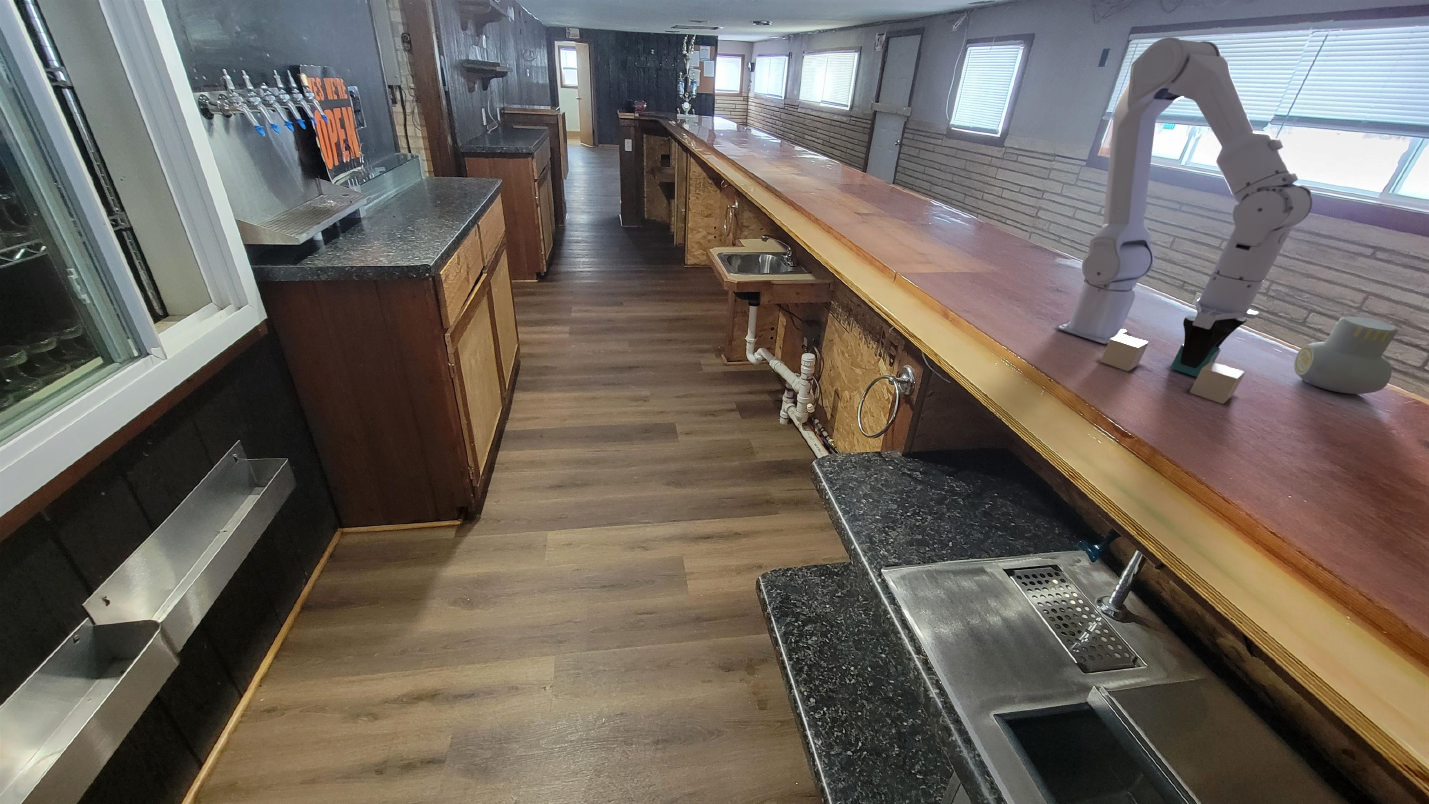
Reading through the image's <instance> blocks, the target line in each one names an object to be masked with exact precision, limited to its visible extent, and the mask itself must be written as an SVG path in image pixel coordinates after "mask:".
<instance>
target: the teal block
mask: <svg viewBox="0 0 1429 804" xmlns="http://www.w3.org/2000/svg"><path fill="white" fill-rule="evenodd" d="M1183 346H1184V343H1183V344H1181V345H1180V348H1179V350H1178V351H1177V354H1176V355H1175V357H1174V359H1173V362H1172V364H1171V365H1170V367H1169V369H1171V370H1174V371H1177V372H1180V373H1183V374H1186V375H1189V376H1192V377H1195V378H1197V377H1198V375H1199V373H1200V371H1201V369H1202V368H1203V367H1204V366H1206V365H1207V364H1208V363H1210V362H1211V361H1212V362H1215V363H1216V360H1217V359H1218V356H1219V354H1220V353H1221V351H1222V348H1221V347H1220V346H1219V347H1214V348H1213V349H1212V350H1211V352H1210V353H1209V354H1208V356H1207V357H1206V358H1205V360H1204V361H1203V362H1202V363H1201V364H1200V365H1199V366H1198V367H1197V368H1193V367H1190V366H1186V365H1183V364H1181V363H1180V362H1181V355H1182V350H1183Z"/></svg>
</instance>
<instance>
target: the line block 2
mask: <svg viewBox="0 0 1429 804" xmlns="http://www.w3.org/2000/svg"><path fill="white" fill-rule="evenodd" d="M1245 374H1246V371H1245V370H1241V369H1238V368H1234V367H1231V366H1229V365H1225V364H1223V363H1219V362H1216V361H1215V362H1212V361H1211V362H1210V363H1208V364H1207V365H1206V366H1204V367H1203V368H1202V369H1201V371H1200V373H1199V375H1198V377H1196V379H1195V381H1194V383H1193V385H1192V386H1191V389H1190V391H1189V393H1190V394H1192V395H1195V396H1198V397H1201V398H1205V399H1207V400H1209V401H1211V402H1212V401H1213V402H1216V403H1219V404H1221V405H1224V404H1225V403H1226V402H1227V401H1229V400H1230V399H1231V398H1232V397H1233V395H1234V393H1235V391H1236V390H1237V388H1238V386H1239V384H1240V383H1241V381H1242V380H1243V378H1244V376H1245Z"/></svg>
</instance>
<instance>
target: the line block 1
mask: <svg viewBox="0 0 1429 804" xmlns="http://www.w3.org/2000/svg"><path fill="white" fill-rule="evenodd" d="M1148 344H1149V341H1147V340H1143V339H1140V338H1136V337H1133V336H1129V335H1127V334H1119V335H1117V336H1115V337H1113V338H1111V339H1110V340H1109V342H1108V343H1107V345H1106V347H1105V349H1104V352H1103V354H1102V357H1101V359H1100V363H1102V364H1105V365H1108V366H1110V367H1114V368H1117V369H1120V370H1122V371H1126V372H1129V371H1131V370H1132V369H1134V368H1136V367H1137V366H1139V364H1140V362H1141V360H1142V358H1143V355H1144V353H1145V351H1146V349H1147V347H1148Z"/></svg>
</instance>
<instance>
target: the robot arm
mask: <svg viewBox="0 0 1429 804" xmlns="http://www.w3.org/2000/svg"><path fill="white" fill-rule="evenodd" d="M1240 97H1241V96H1240V94H1239V93H1238V90H1237V88H1236V86H1235V83H1234V80H1233V78H1232V76H1231V73H1230V65H1229V61H1228V60H1227V59H1226V58H1225V57H1224V56H1222V54H1221V50H1220V48H1219V46H1218V45H1217V44H1215V43H1214V42H1212V41H1206V40H1203V41H1194V40H1185V39H1180V38H1177V37H1174V36H1173V37H1171V36H1169V37H1164V38H1161V39H1158V40H1156V41H1155V42H1153V43H1152V44H1150V45H1149V46H1148V47H1147V48H1146V49H1145V50H1144V51H1143V52H1142V53H1141V54H1140V55H1139V56H1138V57H1137V58H1136V59H1135V60H1134V61H1133V62H1132V63H1131V64H1130V73H1129V79H1128V82H1127V84H1126V86H1125V88H1124V90H1123V92H1122V93H1121V96H1120V98H1119V99H1118V102H1117V103H1116V106H1115V108H1114V111H1113V112H1114V113H1113V119H1112V120H1113V121H1112V130H1111V139H1110V150H1109V160H1108V170H1107V179H1106V182H1107V183H1106V190H1105V199H1104V211H1103V218H1102V219H1103V221H1102V226H1101V227H1100V229H1099V230H1098V231H1096V233H1094V235H1093V236H1092V237H1091V238H1090V240H1089V247H1088V251H1087V253H1086V254H1085V256H1084V258H1083V260H1082V264H1081V271H1082V275H1083V277H1084V279H1083V285H1082V288H1081V290H1080V293H1079V295H1078V298H1077V301H1076V303H1075V307H1074V309H1073V311H1072V315H1071V317H1070V319H1069V322H1065V323H1063V324H1061V325H1059V326H1058V327H1057V329H1058V330H1059V331H1063V332H1065V333H1069V334H1071V335H1074V336H1077V337H1081V338H1084V339H1087V340H1090V341H1094V342H1097V343H1100V344H1102V345H1106V344H1108V342H1109V340H1110V339H1111V338H1113V337H1115V336H1117V335H1119V334H1124V335H1127V333H1128V330H1126V329H1124V328H1123V327H1124V324H1125V322H1126V321H1127V320H1126V319H1127V318H1128V315H1129V314H1130V310H1131V308H1132V306H1133V303H1134V301H1135V299H1136V293H1135V288H1136V285H1137V284H1138V281H1139V280H1140V279H1142V278H1144V277H1145V276H1147V275H1148V274H1149V273H1150V272H1151V271H1152V269H1153V267H1154V263H1155V254H1154V251H1153V248H1152V245H1151V241H1152V240H1151V239H1152V235H1151V232H1150V231H1149V230H1148V228H1147V227H1146V225H1145V214H1146V205H1147V198H1148V189H1149V181H1150V172H1151V164H1152V163H1151V162H1152V154H1153V146H1154V137H1155V129H1156V122H1157V118H1158V117H1159V116H1160V115H1162V113H1163V112H1164V111H1165V110H1167V109H1168V108H1169V107H1170V106H1171V105H1172V104H1173V103H1175V102H1177V101H1178V100H1180V99H1182V98H1185V99H1189V100H1191V101H1194V102H1195V104H1196V106H1197V107H1198V109H1199V110H1200V112H1201V114H1202V116H1203V117H1204V119H1205V121H1206V122H1207V124H1208V126H1209V127H1210V129H1211V131H1212V132H1213V134H1214V136H1215V137H1216V139H1217V141H1218V142H1219V144H1220V146H1221V149H1220V151H1219V153H1218V156H1217V157H1216V160H1215V163H1216V164H1217V166H1218V168H1219V171H1220V173H1221V174H1222V177H1223V179H1224V181H1225V183H1226V185H1227V187H1228V189H1229V191H1230V193H1231V195H1232V197H1233V200H1234V201H1235V202H1236V203H1238V204H1235V205H1234V207H1233V210H1232V220H1233V223H1234V228H1233V231H1232V233H1231V235H1230V236H1229V238H1228V240H1227V242H1226V244H1225V246H1224V248H1223V250H1222V253H1221V254H1220V256H1219V259H1218V260H1217V263H1216V265H1215V267H1214V268H1213V271H1212V272H1211V275H1210V276H1209V279H1208V280H1207V283H1206V285H1205V286H1204V289H1203V291H1202V293H1201V295H1200V297H1199V298H1198V299H1196V301H1195V303H1194V307H1195V309H1196V312H1197V313H1196V316H1193V315H1187V316H1185V317H1184V319H1183V322H1182V323H1183V324H1182V325H1183V330H1184V341H1183V344H1184V346H1183V350H1182V355H1181V362H1180V363H1181V364H1183V365H1186V366H1190V367H1193V368H1197V367H1198V366H1199V365H1200V364H1201V363H1202V362H1203V361H1204V360H1205V358H1206V357H1207V356H1208V354H1209V353H1210V352H1211V350H1212V349H1213V348H1214V347H1219V348H1220V347H1221V346H1222V344H1223V343H1224V342H1225V340H1227V338H1229V336H1230V335H1231V334H1233V333H1234V331H1236V330H1237V329H1238V328H1239V327H1241V326H1243V325H1244V324H1245V323H1246V322H1247V321H1248V319H1251V320H1254V319H1256V318H1257V317H1258V315H1259V311H1255V310H1252V309H1250V308H1251V306H1252V304H1253V303H1254V300H1255V299H1256V297H1257V295H1258V293H1259V291H1260V289H1261V288H1262V285H1263V284H1264V281H1266V278H1267V276H1268V275H1269V272H1270V271H1271V269H1272V267H1273V265H1274V264H1275V261H1276V260H1277V258H1278V256H1279V254H1280V253H1281V250H1282V249H1283V246H1284V244H1285V243H1286V240H1287V238H1288V237H1289V235H1290V233H1291V231H1292V227H1295V226H1297V225H1298V224H1300V223H1301V222H1303V221H1304V220H1305V219H1306V218H1307V216H1309V214H1310V213H1311V210H1312V207H1313V197H1312V191H1311V189H1309V188H1308V187H1306V186H1305V185H1302V184H1300V183H1299V184H1298V183H1295V182H1297V181H1298V180H1299V178H1298V176H1297V174H1296V173H1294V172H1293V173H1291V172H1290V171H1289V169H1288V167H1287V165H1286V163H1285V161H1284V159H1283V157H1282V155H1281V154H1280V151H1279V150H1281V149H1283V148H1284V144H1283V142H1282V141H1281V139H1279V138H1272V136H1271V135H1270V134H1268V133H1260V132H1255V131H1254V129H1253V126H1252V124H1251V122H1250V119H1249V116H1248V114H1247V112H1246V109H1245V107H1244V105H1243V102H1242V99H1241V98H1240Z"/></svg>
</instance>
